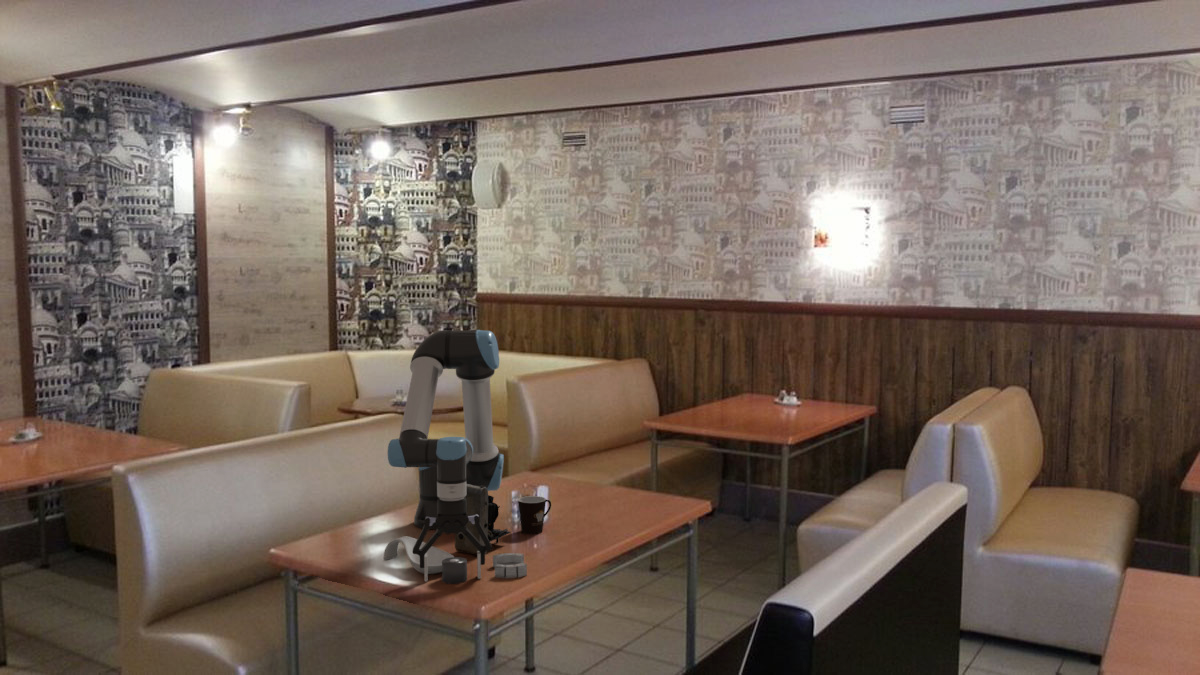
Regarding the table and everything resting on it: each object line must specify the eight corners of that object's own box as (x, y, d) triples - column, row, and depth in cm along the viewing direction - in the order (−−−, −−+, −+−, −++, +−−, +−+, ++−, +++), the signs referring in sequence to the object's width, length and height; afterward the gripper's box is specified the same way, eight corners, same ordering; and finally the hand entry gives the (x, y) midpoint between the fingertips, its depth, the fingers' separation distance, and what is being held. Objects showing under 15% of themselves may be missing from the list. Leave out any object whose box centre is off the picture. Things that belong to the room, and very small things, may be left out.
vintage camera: (513, 545, 267) (513, 478, 266) (480, 557, 254) (480, 486, 253) (487, 541, 272) (487, 475, 271) (453, 552, 258) (453, 483, 258)
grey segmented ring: (492, 564, 247) (492, 553, 247) (523, 563, 249) (523, 552, 249) (495, 579, 236) (495, 567, 235) (527, 577, 237) (527, 566, 237)
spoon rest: (463, 570, 244) (463, 543, 243) (430, 581, 234) (430, 554, 234) (405, 553, 258) (404, 529, 258) (371, 564, 249) (371, 538, 248)
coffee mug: (522, 536, 274) (522, 504, 274) (514, 529, 282) (514, 497, 282) (559, 532, 279) (559, 500, 278) (550, 525, 287) (550, 494, 286)
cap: (442, 576, 238) (441, 557, 238) (466, 575, 239) (466, 555, 239) (441, 584, 232) (441, 564, 231) (467, 583, 233) (467, 563, 232)
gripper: (401, 503, 229) (403, 585, 230) (501, 499, 233) (501, 580, 234) (403, 496, 236) (404, 576, 237) (499, 492, 240) (500, 571, 241)
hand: (452, 578), depth 236 cm, fingers open, 13 cm apart
